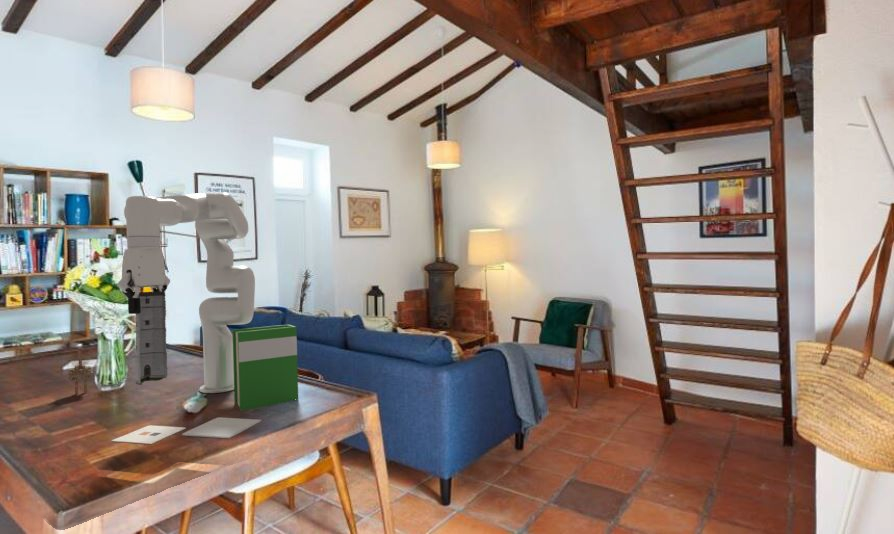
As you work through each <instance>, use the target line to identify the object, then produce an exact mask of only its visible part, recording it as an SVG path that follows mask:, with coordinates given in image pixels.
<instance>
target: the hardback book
mask: <svg viewBox="0 0 894 534" xmlns="http://www.w3.org/2000/svg"><path fill="white" fill-rule="evenodd" d="M297 332H298V331H297V326H296V325H292V324H280V325H270V326H260V327H259V326H257V327H247V328H235V329H232V330H231V333H232V335H233V369H234V390H233V391H234V392H233V395H234V396H233V397H234V398H233V399H234V400H233V402H234V404H233V405H234V406H238V407H239V411H240V412H241V411H242V410H243V411H246V410H253V409H259V408H263V407H268V406H273V405H278V404H283V402H284V403H288V402H287V401H290V402H292V401H291V400H295V399H298V400H299V375H298V373H299V372H298V368H299V367H298V340H297V337H298V336H297V335H298V334H297ZM295 401H296V400H295ZM243 411H242V412H243Z"/></svg>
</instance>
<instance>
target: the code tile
mask: <svg viewBox="0 0 894 534" xmlns="http://www.w3.org/2000/svg"><path fill="white" fill-rule="evenodd" d="M186 429H187V427H182V426H181V427H179V426H169V425H167V426H166V425H151V424H150V425H147V426H144V427H142V428H139V429H136V430H134V431H132V432H129V433H127V434H124V435H122V436H119V437H117V438H114V439H112V440H111V442H118V443H128V444H129V443H130V444H144V445H145V444H147V445H152V444H155V443H157V442H159V441H161V440H163V439H166V438H168V437H170V436H173V435H174V434H177V433H179V432H182V431H183V430H186Z"/></svg>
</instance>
